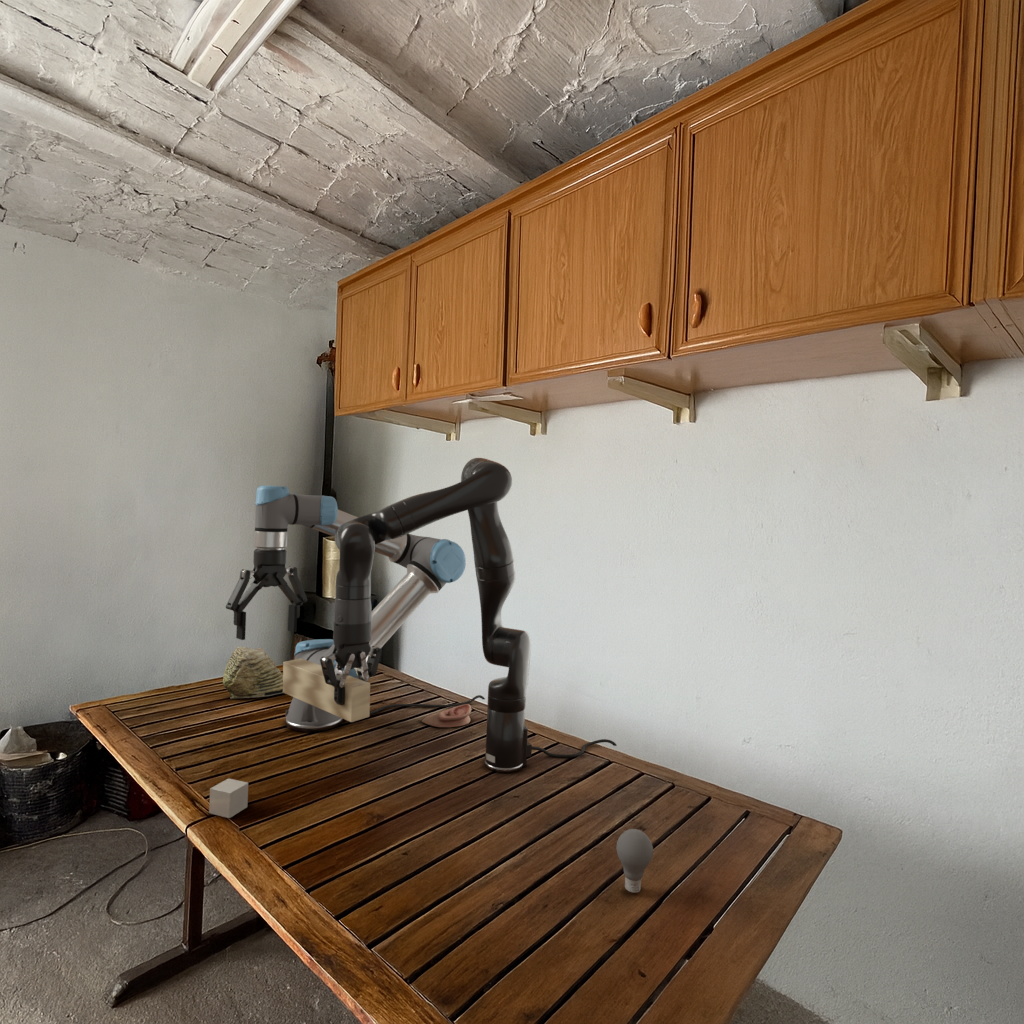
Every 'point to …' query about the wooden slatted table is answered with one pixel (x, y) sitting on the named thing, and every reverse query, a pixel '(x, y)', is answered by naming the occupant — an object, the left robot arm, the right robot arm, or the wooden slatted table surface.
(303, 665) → the ash bar
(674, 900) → the wooden slatted table surface
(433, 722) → the anatomical model
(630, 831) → the light bulb
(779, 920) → the wooden slatted table surface
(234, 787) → the grey block
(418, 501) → the right robot arm
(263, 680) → the fossil
